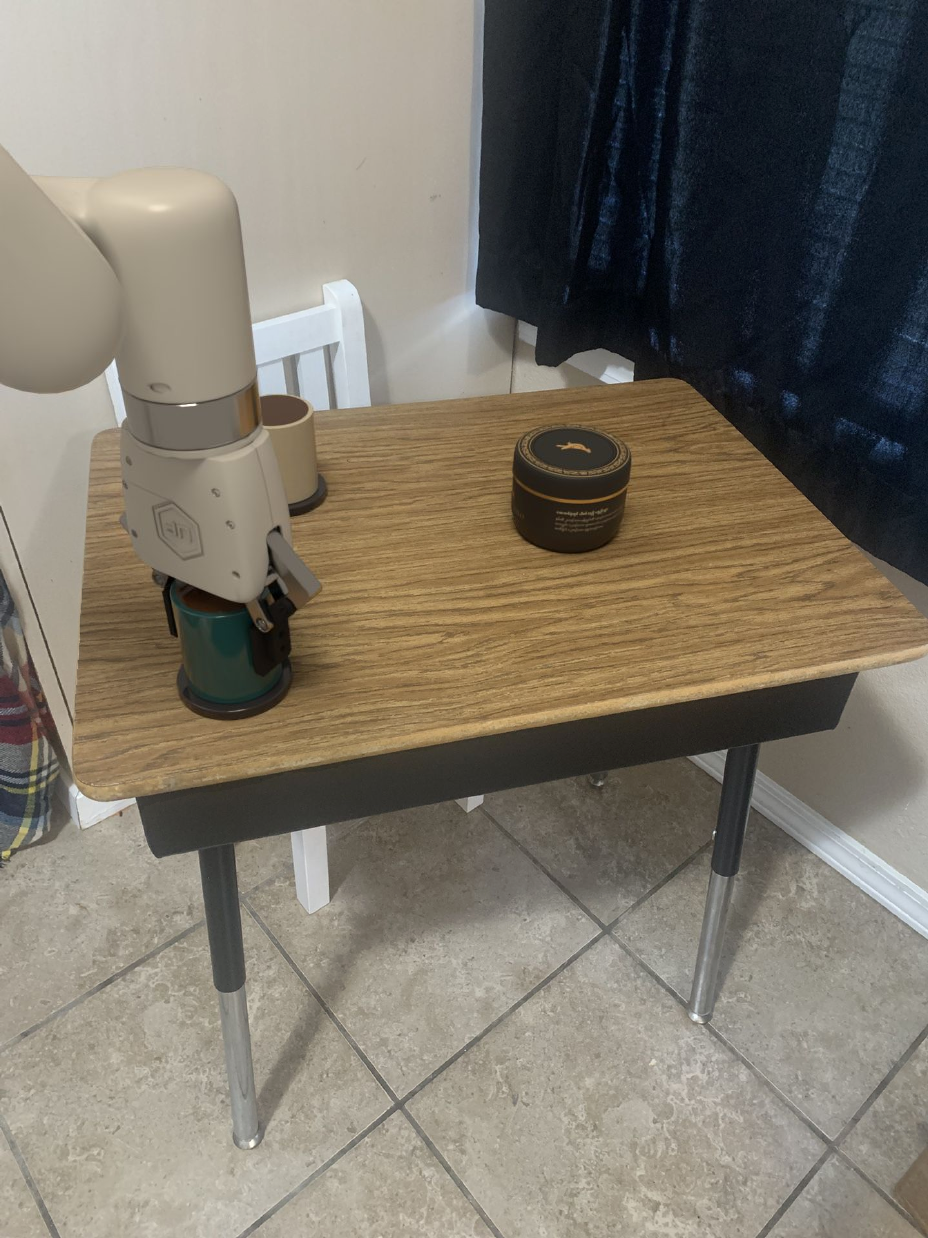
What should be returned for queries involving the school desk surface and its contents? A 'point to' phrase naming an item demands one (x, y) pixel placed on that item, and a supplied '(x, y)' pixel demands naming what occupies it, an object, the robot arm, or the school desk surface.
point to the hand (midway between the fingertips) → (230, 643)
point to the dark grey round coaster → (310, 499)
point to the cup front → (218, 645)
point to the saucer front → (236, 709)
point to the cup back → (292, 442)
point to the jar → (569, 486)
